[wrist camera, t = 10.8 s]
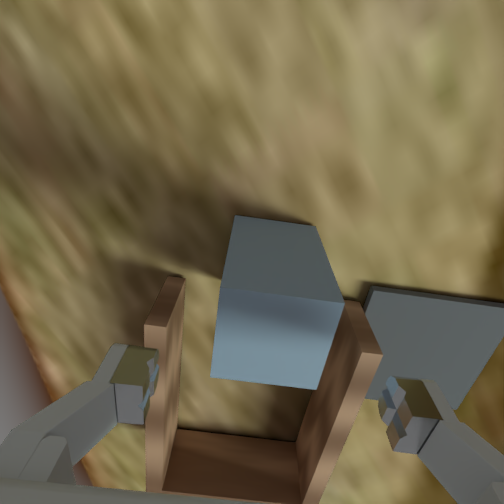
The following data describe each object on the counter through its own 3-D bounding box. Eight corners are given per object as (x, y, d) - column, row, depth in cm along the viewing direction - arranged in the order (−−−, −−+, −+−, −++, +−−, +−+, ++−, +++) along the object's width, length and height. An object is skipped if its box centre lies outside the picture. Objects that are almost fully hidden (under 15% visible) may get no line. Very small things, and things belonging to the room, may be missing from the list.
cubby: (305, 452, 30) (313, 515, 26) (163, 435, 30) (146, 497, 25) (359, 301, 23) (383, 354, 18) (167, 276, 22) (144, 324, 18)
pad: (452, 403, 27) (456, 409, 26) (333, 388, 26) (334, 394, 26) (513, 305, 22) (520, 310, 22) (371, 285, 22) (373, 290, 21)
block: (299, 293, 22) (316, 389, 15) (226, 283, 22) (210, 377, 15) (315, 226, 20) (345, 303, 13) (234, 215, 20) (220, 287, 13)
